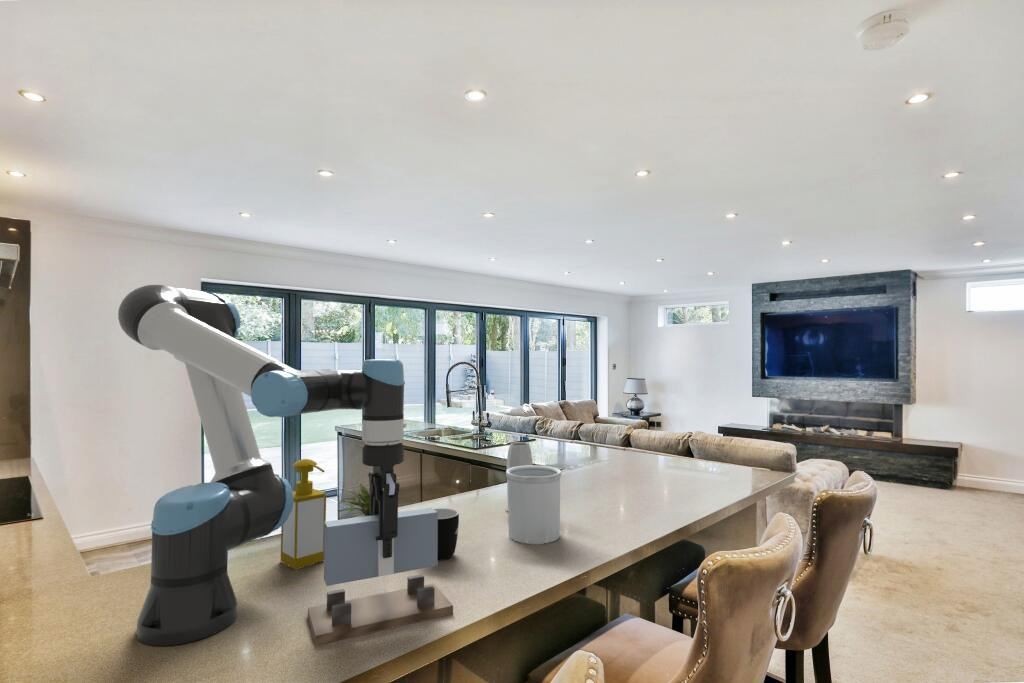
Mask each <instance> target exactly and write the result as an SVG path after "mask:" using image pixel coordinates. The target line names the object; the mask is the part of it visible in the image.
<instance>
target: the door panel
mask: <svg viewBox="0 0 1024 683" xmlns="http://www.w3.org/2000/svg"><path fill="white" fill-rule="evenodd" d="M434 509H435V508H433V507H428V508H420V509H411V510H410V509H409V510H404V511H398V535H397V537H395V538H394V574H400V573H406V572H411V571H417V570H421V569H427V568H433V567H437V566H438V561H437V554H438V512H437V511H435V510H434ZM379 535H380V530H379V515H372V516H364V517H359V516H357V517H350V518H343V519H335V520H328V521H327V520H326V522H325V523H324V561H323V580H324V583H325V585H326V587H330V586H335V585H340V584H345V583H350V582H351V583H352V582H355V581H361V580H367V579H373V578H378V577H379V576H378V541H376V537H378V536H379ZM394 574H393V575H394Z"/></svg>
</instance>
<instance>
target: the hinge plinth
mask: <svg viewBox="0 0 1024 683" xmlns="http://www.w3.org/2000/svg"><path fill="white" fill-rule="evenodd" d="M406 581H407V585H406V586H407V587H406V588H403V589H399V590H394V591H388V592H387V591H386V592H383V593H377V594H373V595H367V596H362V597H358V598H353V599H352V598H351V599H347V600H346V590H345V588H340V589H335V590H330V591H326V604H322V605H321V604H320V605H316V606H312V607H308V608H307V619H308V624H309V626H310V630H311V634H312V637H313V641H314V645H315V646H318V645H322V644H327V643H330V642H331V643H332V642H335V641H340V640H345V639H348V638H353V637H357V636H360V635H361V636H362V635H366V634H370V633H374V632H379V631H384V630H388V629H393V628H397V627H401V626H406V625H410V624H414V623H419V622H423V621H428V620H432V619H436V618H437V619H438V618H441V617H446V616H449V615H453V614H454V605H453V604H452V602H451V601H450V600H449V599H448V598H447V597H446V595H445V594H444V593H443V592H442V591H441V589H439V588H438V587H437V586H436V584H435V583H434V582H433V583H428V584H425V576H424V574H423V573H422V574H415V575H410V576H407V580H406Z"/></svg>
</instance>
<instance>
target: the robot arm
mask: <svg viewBox="0 0 1024 683" xmlns="http://www.w3.org/2000/svg"><path fill="white" fill-rule="evenodd" d="M117 311H118V313H117V315H118V316H117V318H118V321H119V322H118V323H119V325H120V328H121V330H122V331H123V332H124V334H126V335H127V336H128V337H129V338H131V340H133V341H134V342H136V343H138V344H140V345H142V346H144V347H145V348H146V349H147V348H148V349H149V350H152V351H164V352H167V353H168V354H170V355H173V357H174V359H175V360H178V361H180V362H182V363H183V364H184V365H185V367H186V372H187V376H188V380H189V383H190V386H191V387H190V388H191V390H192V394H193V396H194V401H195V403H196V404H195V405H196V407H197V411H198V414H199V418H200V422H201V425H202V429H203V432H204V436H205V440H206V443H207V447H208V450H209V453H210V458H211V461H212V465H213V468H214V472H215V473H214V476H213V477H212V478H211V480H210V482H200V483H197V484H193V485H192V484H190V485H186V486H182V487H179V488H176V489H173V490H171V491H169V492H167V493H166V494H164V495H162V496H160V497H159V499H158V500H156V502H155V505H154V507H153V515H152V520H151V523H150V524H151V525H150V530H151V562H150V563H151V565H150V585H149V586H150V587H149V590H148V591H147V592H148V593H147V594H146V596H145V600H144V603H143V605H142V607H141V610H140V612H139V616H138V619H137V621H136V633H135V634H136V635H137V636H136V639H137V638H138V639H139V640H140V641H141V642H140V641H139V640H138V639H137V640H138V641H139V642H140V643H142V642H143V643H142V644H145V645H149V646H161V647H163V646H164V647H165V646H173V645H182V644H186V643H191V642H195V641H200V640H201V639H204V638H207V637H209V636H212V635H214V634H216V633H219V632H221V631H222V630H224V629H226V628H227V627H228V626H230V625H231V624H232V623H233V622H234V621H235V620H236V618H237V616H238V600H237V597H236V594H235V592H234V587H233V585H232V582H231V580H230V576H229V573H228V563H229V562H228V560H229V559H228V558H229V557H228V556H229V551H231V550H233V549H235V548H237V547H240V546H243V545H245V544H246V543H250V542H252V541H255V540H257V539H261V538H264V537H266V536H269V535H270V534H271V533H272V532H274V531H276V530H278V529H281V526H282V525H283V524H284V523H285V522H286V521H287V519H288V517H289V515H290V513H291V511H292V507H293V488H292V486H291V483H290V482H289V480H288V479H287V478H284V477H283V476H282V475H280V474H277V473H275V472H274V469H273V465H272V463H271V462H269V461H267V460H265V459H264V458H262V457H261V454H260V450H259V446H258V443H257V440H256V436H255V434H254V429H253V426H252V423H251V420H250V416H249V413H248V410H247V406H246V403H245V399H244V396H243V394H244V395H247V396H248V397H250V398H251V399H250V400H251V402H252V405H253V406H254V407H255V409H256V411H257V412H258V413H259V414H261V415H263V416H265V417H268V418H269V417H270V418H277V417H278V418H287V417H292V416H296V415H298V416H299V415H302V414H304V415H305V414H310V413H319V412H327V411H334V410H335V411H336V410H358V411H359V410H361V411H362V419H361V421H362V422H361V424H362V425H361V426H362V428H361V430H362V431H361V436H362V437H361V440H362V441H363V442H364V444H363V445H362V446H361V447H362V450H361V452H362V458H361V461H362V464H363V465H365V466H368V467H372V471H369V472H368V480H369V481H368V482H369V495H370V516H372V515H379V530H380V535H379V536H378V537H376V541H378V576H379V577H384V576H389V575H394V538H395V537H397V535H398V512H399V492H400V482H397V474H396V473H395V470H394V466H396V465H400V464H402V463H403V462H404V461H405V450H404V449H405V444H404V442H403V440H404V439H405V437H404V433H405V432H404V431H405V430H404V429H405V428H406V427H407V423H406V422H404V421H405V420H404V418H405V417H404V415H405V414H404V409H405V408H404V406H405V405H404V404H405V399H404V398H405V385H406V384H405V383H406V382H405V374H404V364H403V361H401V360H400V359H397V358H396V359H392V358H391V359H387V358H385V359H384V358H382V359H379V358H378V359H373V358H371V359H365V360H364V361H363V362H362V368H361V369H357V370H356V369H352V370H351V369H330V368H329V369H320V370H315V369H313V370H310V369H309V370H305V369H304V370H300V369H296V368H294V367H291V366H289V365H287V364H285V363H283V362H281V361H280V360H278V359H276V358H274V357H272V356H271V355H269V354H266V353H264V352H262V351H260V350H258V349H257V348H254V347H252V346H250V345H249V344H247V343H244V342H242V341H240V340H238V339H236V338H237V337H238V335H239V333H240V330H239V328H241V316H240V312H239V310H238V309H237V306H236V305H235V303H234V302H232V301H231V300H230V298H228V297H226V296H224V295H221V294H217V293H214V292H212V291H210V290H209V291H207V290H195V289H188V288H183V287H176V286H170V285H163V284H147V285H144V286H140V287H137V288H135V289H134V290H132V291H130V292H129V293H128V294H127V295H126V296H125V297H124V298H123V299H122V300H121V303H120V304H119V308H118V310H117Z"/></svg>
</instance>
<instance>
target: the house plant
mask: <svg viewBox="0 0 1024 683" xmlns="http://www.w3.org/2000/svg"><path fill="white" fill-rule="evenodd" d="M353 482H354V483H356V484H357V485H358V487H359V489H360V491H361V492H358V491H355V490H354V489H351V488H348V490H350V491H347V488H345V487H344V488H343V487H341V489H345V490H346V491H345V492H350V493H353V494H354V495H355V496H356V497H354V498H355V500H349V499H346V500H344V499H343V500H342V502H343V503H349V508H348V509H347V514H349V513H351V512H353V511H359V512H362V514H361V515H360V516H358V517H364V516H370V492H369V491H368V489H367V488H366V487H365V485H364V484H362V483H361V482H360V483H359V482H357V481H354V480H353ZM352 491H353V492H352ZM355 493H356V494H355ZM360 499H361V500H360ZM352 505H354V506H358V507H354V506H352ZM359 507H360V508H359Z"/></svg>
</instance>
